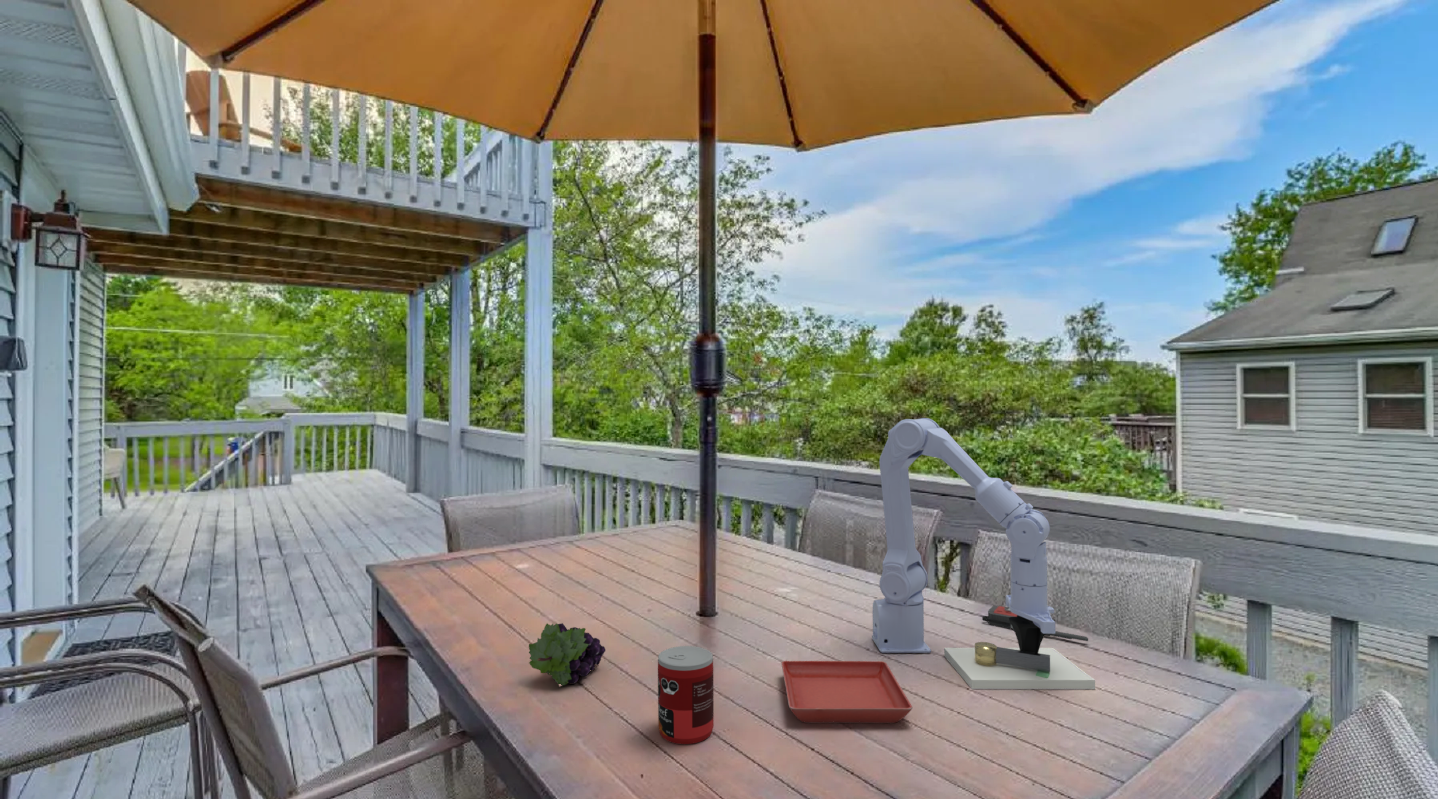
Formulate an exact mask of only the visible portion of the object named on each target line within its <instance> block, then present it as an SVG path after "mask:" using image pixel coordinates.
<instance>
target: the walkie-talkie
mask: <svg viewBox="0 0 1438 799" xmlns="http://www.w3.org/2000/svg"><path fill="white" fill-rule="evenodd" d="M1009 617H1017V615H1016V614H1014V613H1012V612H1011V611H1010V609H1009V607H1007V606H1006V605H1005V606H1000V605H992V606H991V607H990V608H989V609H988V611H987V615H983V616H982V617H981V620H982V621H983V622H987V624H988V625H990V624H991V625H990V626H994V625H995V627H1001V628H1007V629H1010V628H1012V630H1013V631H1014V629H1013V627H1012V625H1011V623H1010V621H1009ZM1051 618H1052V615H1051ZM1052 620H1053V621H1055V622H1056V619H1055V618H1052ZM1045 636H1047V637H1050V636H1051V637H1056V638H1057V637H1058V638H1062V639H1067V640H1072V639H1073V640H1078V641H1085V642H1088V641H1089V638H1088V637H1087V636H1084V635H1080V634H1079V635H1078V634H1074V633H1069V632H1062V631H1057V630H1055V634H1045Z"/></svg>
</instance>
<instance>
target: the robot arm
mask: <svg viewBox="0 0 1438 799" xmlns="http://www.w3.org/2000/svg"><path fill="white" fill-rule="evenodd" d="M887 436H888V437H887V440H886V443H885V445H884V447H883V449H882V451H881V454H880V456H879V462H878V463H879V473H880V483H881V495H882V503H883V505H882V506H883V516H884V525H885V526H884V527H885V537H886V547H887V549H886V554H885V556H884V559H883V561H882V564H881V565H882V574H881V576H880V578H879V589H880V592H881V594H882V595H883V596H884V598H881V599H874V600H873V603H872V635H871V638H872V640H873V642H874V644H875V645H876V647H877V648H878V651H879V652H880V653H882V654H883V653H887V654H888V653H889V654H890V653H891V654H892V653H893V654H894V653H895V654H897V653H898V654H900V653H902V654H903V653H908V654H909V653H911V654H912V653H921V654H922V653H925V654H926V653H928V654H930V653H931V652H932V650H931V648H930V647H929V646H928V644H927V643H926V642H925V635H924V634H925V627H924V626H925V618H924V617H925V616H924V613H925V610H924V609H925V608H924V607H925V606H924V602H925V600H924V595H923V591H924V590H925V588H926V587H927V585H928V582H929V576H928V572H927V570H926V569H925V567H924V564H923V561H922V555H921V553H920V552H919V551H918V550H917V548H916V538H915V528H914V516H913V508H912V505H913V504H912V496H911V495H912V494H911V485H910V475H909V467H910V466H911V465H912V464H913V463H914V462H915V461H916V460H917V459H918V458H919V456H922V455H923V456H928V457H932V458H936V459H940V460H942V461H943V462H944V463H946V464H947V465H948V466H949V468H950V469H952V470H953V471H954V472H955V473H956V474H957V475H958V476H960V477H961V478H962V479H963V480H964V481H965V482H966V483H967V484H968V485H969V486H970V487H971V488H972V489H973V490H974V496H975V501H976V502H977V503H978V504H979V505H980V506H981V507H982V508H983V509H984V510H985V511H986V512H987V513H988V514H989V515H990V516H991V518H993V519H994V520H995V521H996V522H997V523H998V524H999V525H1000V526H1001V527H1002V528H1005V534H1006V538H1007V539H1008V541H1009V542H1010V545H1011V547H1010V548H1011V550H1010V551H1011V553H1010V594H1006V595H1005V606H1007V607H1009V609H1010V611H1011V612H1012V613H1014V614H1016V615H1017V617H1009V621H1010V623H1011V625H1012V627H1013V629H1014V630H1013V629H1012V630H1013V631H1014V633H1015V634H1014V635H1015V637H1016V641H1017V643H1018V644H1017V645H1018V648H1019V649H1020V650H1021V651H1027V652H1034V653H1038V652H1039V648H1041V644H1042V642H1043V639H1044V638H1045V636H1046V635H1045V634H1055V631H1056V620H1055V621H1053V620H1052V618H1051V616H1052V614H1054V613H1055V609H1054V608H1053V607H1052V606H1051V605H1048V556H1047V550H1048V549H1047V542H1046V541H1045V540H1046V539H1047V538H1048V536H1049V535H1050V531H1051V526H1050V522H1049V521H1048V519H1047V518H1046V516H1045V515H1044V513H1043V512H1042V511H1039V510H1037V509H1034V506H1033V505H1032V504H1031V503H1030V502H1028V503H1026V502H1025V501H1024V500H1023V498H1021V497H1020V496H1019V495H1017V493H1016V492H1015V491H1014V490H1013V489H1012V488H1013V484H1012V483H1010V481H1008V480H1005V481H1004V480H1002V479H1001V478H999V477H990V476H988V474H987V473H986V472H985V471H984V470H983V469H982V468H981V467H980V466H979V465H978V464H977V462H975V461H974V460H973V459H972V458H971V456H969V454H968V453H967V452H966V451H965V450H964V449H963V448H962V446H960V445H959V444H958V442H956V440H955V439H954V438H953V437H952V436H951V435H950V434H949V433H948V431H947V430H946V429H944V428H943V427H940V425H939V424H938V423H937V422H936V421H934V420H933V419H931V418H927V417H921V418H917V419H916V418H915V419H912V418H911V419H910V418H905V419H902V420H900V421H898V422H896V424H895V425H894V426H893V427H892V428H890V429H889V431H888V432H887Z"/></svg>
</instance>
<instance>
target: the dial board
mask: <svg viewBox="0 0 1438 799" xmlns="http://www.w3.org/2000/svg"><path fill="white" fill-rule="evenodd" d="M1007 648H1008V649H1014V650H1020V649H1019V647H1007ZM1038 653H1040V654H1047V655H1050V672H1047V671H1041V670H1035V669H1029V668H1023V667H1017V666H1011V665H1005V664H999V663H997V664H996V665H983V664H980V663H977V662H976V661H975V647H943V656H944V658H945V659H946V660H947V661H948V662H949V663H950V665H951V666H952V667H953V668H954V669H955V671H956V672H957V673H958V675H960V677H961V678H962V680H963V681H964V682H966V684H967V685H968V686H969V687H970V689H972V690H1096V679H1095V678H1093V677H1092V676H1091V675H1089V674H1088V673H1086V672H1085V671H1084V670H1082V669H1081V668H1080V667H1078V666H1077V665H1076V664H1075V663H1073V662H1072V661H1071V660H1070V659H1068V658H1067V657H1065V656H1064V655H1063V654H1062V653H1061V652H1059V651H1058V650H1056V649H1055V648H1053V647H1040V648H1039V652H1038Z"/></svg>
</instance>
